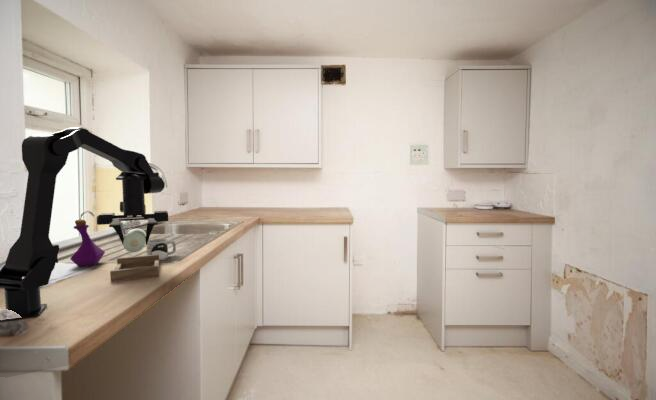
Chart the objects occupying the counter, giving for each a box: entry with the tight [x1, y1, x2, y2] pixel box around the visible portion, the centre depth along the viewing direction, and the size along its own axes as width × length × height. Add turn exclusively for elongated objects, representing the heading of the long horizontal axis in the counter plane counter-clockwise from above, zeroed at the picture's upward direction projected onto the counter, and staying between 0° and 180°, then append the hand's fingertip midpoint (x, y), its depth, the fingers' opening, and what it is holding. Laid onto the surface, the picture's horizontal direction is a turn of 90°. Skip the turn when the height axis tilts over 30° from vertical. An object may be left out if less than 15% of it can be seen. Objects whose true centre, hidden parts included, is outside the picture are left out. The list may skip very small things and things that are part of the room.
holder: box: [109, 254, 160, 283], centre depth 105 cm, size 16×12×3 cm
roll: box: [122, 228, 146, 253], centre depth 104 cm, size 10×6×6 cm, turn 26°
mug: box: [146, 238, 177, 262], centre depth 121 cm, size 10×7×7 cm, turn 141°
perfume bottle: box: [69, 210, 106, 267], centre depth 111 cm, size 8×8×18 cm
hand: (135, 245), depth 104 cm, fingers closed on roll, 6 cm apart
